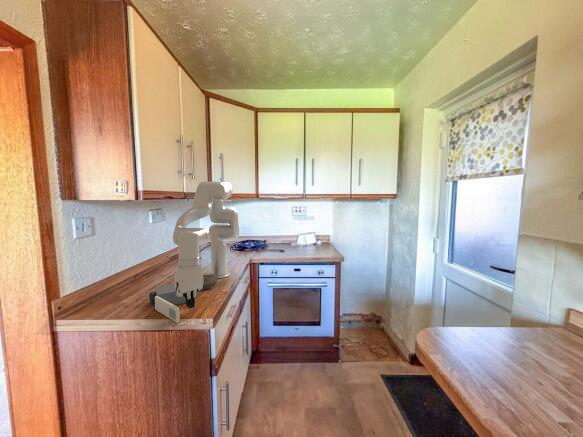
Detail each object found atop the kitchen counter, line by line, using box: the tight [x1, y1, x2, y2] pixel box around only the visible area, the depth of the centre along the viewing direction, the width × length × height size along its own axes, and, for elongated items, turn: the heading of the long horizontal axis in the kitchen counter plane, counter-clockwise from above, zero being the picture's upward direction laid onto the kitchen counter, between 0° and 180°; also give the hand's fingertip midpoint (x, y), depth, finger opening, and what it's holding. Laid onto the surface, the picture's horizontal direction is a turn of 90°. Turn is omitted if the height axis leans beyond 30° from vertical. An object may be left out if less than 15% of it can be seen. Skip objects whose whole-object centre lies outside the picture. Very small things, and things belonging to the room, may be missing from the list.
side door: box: [154, 296, 181, 324], centre depth 94 cm, size 1×18×6 cm, turn 52°
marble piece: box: [200, 274, 218, 291], centre depth 129 cm, size 17×15×4 cm
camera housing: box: [148, 282, 186, 306], centre depth 108 cm, size 12×14×7 cm
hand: (190, 307), depth 96 cm, fingers closed
